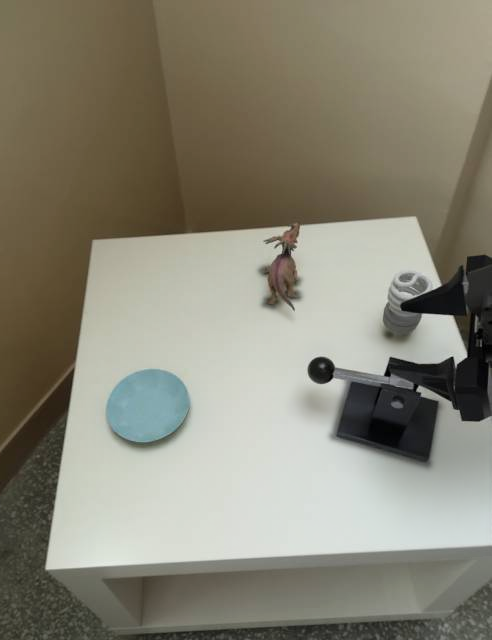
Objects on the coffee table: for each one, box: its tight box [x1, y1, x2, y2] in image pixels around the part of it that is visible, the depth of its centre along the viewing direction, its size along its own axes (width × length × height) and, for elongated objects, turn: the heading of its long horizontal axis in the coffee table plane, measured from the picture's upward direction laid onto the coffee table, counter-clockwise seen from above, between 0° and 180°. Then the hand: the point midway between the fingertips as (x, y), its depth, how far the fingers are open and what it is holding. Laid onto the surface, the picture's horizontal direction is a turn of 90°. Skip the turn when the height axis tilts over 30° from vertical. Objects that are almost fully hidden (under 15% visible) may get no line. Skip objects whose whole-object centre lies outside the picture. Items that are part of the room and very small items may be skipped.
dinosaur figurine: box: [262, 222, 301, 312], centre depth 84 cm, size 14×6×9 cm, turn 176°
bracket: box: [335, 356, 440, 463], centre depth 68 cm, size 12×9×11 cm
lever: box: [306, 356, 414, 390], centre depth 67 cm, size 13×4×4 cm, turn 70°
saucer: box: [105, 368, 190, 443], centre depth 75 cm, size 12×12×2 cm
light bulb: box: [382, 269, 434, 336], centre depth 76 cm, size 6×6×12 cm
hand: (395, 337), depth 61 cm, fingers open, 9 cm apart
